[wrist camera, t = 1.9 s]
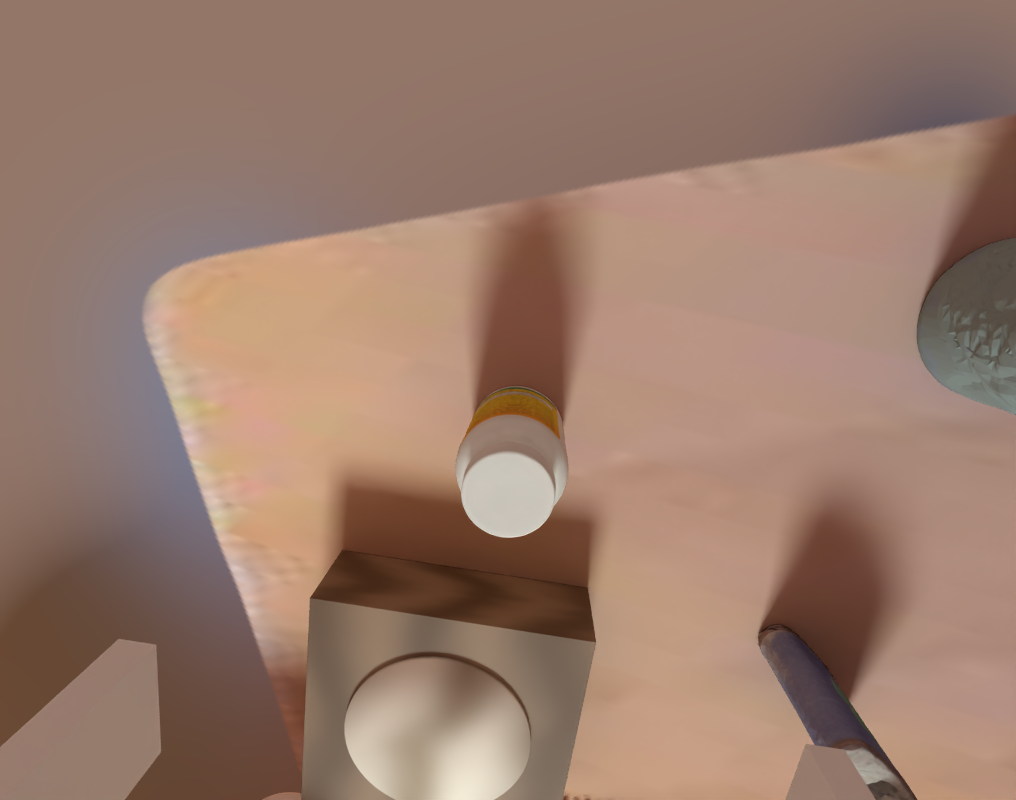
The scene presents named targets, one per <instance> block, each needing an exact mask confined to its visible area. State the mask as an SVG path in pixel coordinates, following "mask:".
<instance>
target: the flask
mask: <svg viewBox="0 0 1016 800" xmlns="http://www.w3.org/2000/svg"><path fill="white" fill-rule="evenodd" d="M770 628H775V629H778V630H774V629H773V630H768V629H770ZM759 647H760V649H761V652H762V654H763V656H764V657H765V658H766V659H767V661H768V663H769V665H770V666H771V668H772V670H773V671H774V673H775V675H776V677H777V679H778V680H779V682H780V684H781V686H782V688H783V689H784V691H785V692H786V694H787V696H788V698H789V699H790V701H791V703H792V705H793V706H794V708H795V710H796V711H797V713H798V715H799V717H800V719H801V721H802V723H803V724H804V726H805V728H806V730H807V732H808V734H809V735H810V737H811V739H812V741H813V743H814V745H817V746H823V747H830V748H836V749H843V750H845V752H846V753H847V755H848V756H849V758H850V759H851V761H852V763H853V764H854V766H855V767H856V769H857V771H858V772H859V774H860V775H861V777H862V779H863V780H864V782H865V783H866V785H867V786H868V788H869V790H870V791H871V793H872V794H873V796H874V798H875V799H876V800H917V798H916V797H915V795H914V794H913V792H912V791H911V789H910V788H909V786H908V785H907V783H906V782H905V780H904V779H903V777H902V776H901V775H900V774H899V772H898V771H897V770H896V768H895V767H894V766H893V764H892V763H891V761H890V760H889V758H888V757H887V755H886V754H885V752H884V751H883V749H882V748H881V747H880V745H879V744H878V742H877V741H876V739H875V738H874V736H873V735H872V734H871V732H870V731H869V730H868V728H867V727H866V725H865V724H864V722H863V721H862V719H861V718H860V716H859V715H858V713H857V712H856V711H855V709H854V708H853V706H852V705H851V703H850V702H849V700H848V699H847V698H846V696H845V694H844V693H843V692H842V690H841V689H840V687H839V685H838V684H837V683H836V682H835V679H834V678H833V676H832V674H831V673H830V672H829V670H828V668H827V667H826V666H825V665H824V664H823V663H822V662H821V661H820V659H819V658H818V657H817V656H816V655H815V653H814V652H813V651H812V649H811V648H809V647H808V645H807V643H805V641H803V640H802V639H801V638H800V637H799V636H798V635H797V633H795V632H793V631H792V630H791V629H789V628H787V627H786V626H785V627H783V626H782V625H773V626H770V627H768V628H767V629H766V630H765V631H763V632H762V633H759Z"/></svg>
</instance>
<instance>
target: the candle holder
mask: <svg viewBox="0 0 1016 800" xmlns="http://www.w3.org/2000/svg"><path fill="white" fill-rule="evenodd" d="M262 800H301V793H297V792H282V793H277V794H273V795H270V796H268V797H265V798H264V799H262Z"/></svg>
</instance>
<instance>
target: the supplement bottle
mask: <svg viewBox="0 0 1016 800" xmlns="http://www.w3.org/2000/svg"><path fill="white" fill-rule="evenodd" d="M456 478H457V482H458V485H459V488H460V490H461V498H462V504H463V507H464V509H465V512H466V513H467V515H468V517H469V518H470V519H471V521H472V522H473V523H474V524H475V525H476V526H477V527H479V528H480V529H482V530H483V531H485V532H487V533H489V534H491V535H494V536H498V537H504V538H512V537H520V536H524V535H527V534H529V533H531V532H533V531H535V530H536V529H538V528H539V527H540V526H541V525H542V524H543V523H544V522H545V521H546V520H547V519H548V517H549V516H550V514H551V512H552V509H553V507H554V505H555V504H556V503H557V502H558V500H559V499H560V497H561V496H562V494H563V492H564V489H565V487H566V483H567V479H568V459H567V452H566V446H565V438H564V429H563V423H562V420H561V416H560V414H559V412H558V410H557V408H556V407H555V405H554V404H553V403H552V401H551V400H550V399H549V398H547V397H546V396H545V395H543V394H542V393H540V392H538V391H536V390H534V389H531V388H528V387H523V386H510V387H505V388H501V389H499V390H496V391H494V392H493V393H491V394H490V395H488V396H487V397H486V398H485V399H484V400H483V401H482V402H481V404H480V405H479V407H478V408H477V410H476V412H475V414H474V416H473V419H472V421H471V423H470V425H469V428H468V430H467V432H466V435H465V437H464V439H463V441H462V443H461V445H460V447H459V450H458V454H457V459H456Z"/></svg>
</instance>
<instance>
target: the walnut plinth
mask: <svg viewBox="0 0 1016 800" xmlns="http://www.w3.org/2000/svg"><path fill="white" fill-rule="evenodd" d="M595 645H596V639H595V632H594V626H593V619H592V613H591V606H590V599H589V593H588V588H584V587H578V586H571V585H565V584H558V583H552V582H545V581H539V580H532V579H526V578H519V577H513V576H506V575H500V574H493V573H486V572H480V571H473V570H467V569H460V568H454V567H447V566H441V565H434V564H428V563H421V562H415V561H408V560H402V559H395V558H389V557H382V556H376V555H369V554H363V553H356V552H350V551H343V550H342V552H341V553H340V555H339V556H338V557H337V559H336V560H335V562H334V563H333V565H332V566H331V568H330V569H329V571H328V572H327V574H326V575H325V577H324V578H323V580H322V581H321V583H320V584H319V586H318V587H317V589H316V590H315V592H314V593H313V595H312V596H311V598H310V611H309V633H308V655H307V677H306V700H305V722H304V744H303V766H302V788H301V789H302V790H301V800H562V798H563V794H564V789H565V784H566V780H567V775H568V771H569V766H570V761H571V757H572V752H573V747H574V743H575V738H576V733H577V729H578V724H579V719H580V715H581V710H582V706H583V701H584V696H585V692H586V687H587V682H588V678H589V673H590V668H591V664H592V659H593V654H594V650H595Z"/></svg>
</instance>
